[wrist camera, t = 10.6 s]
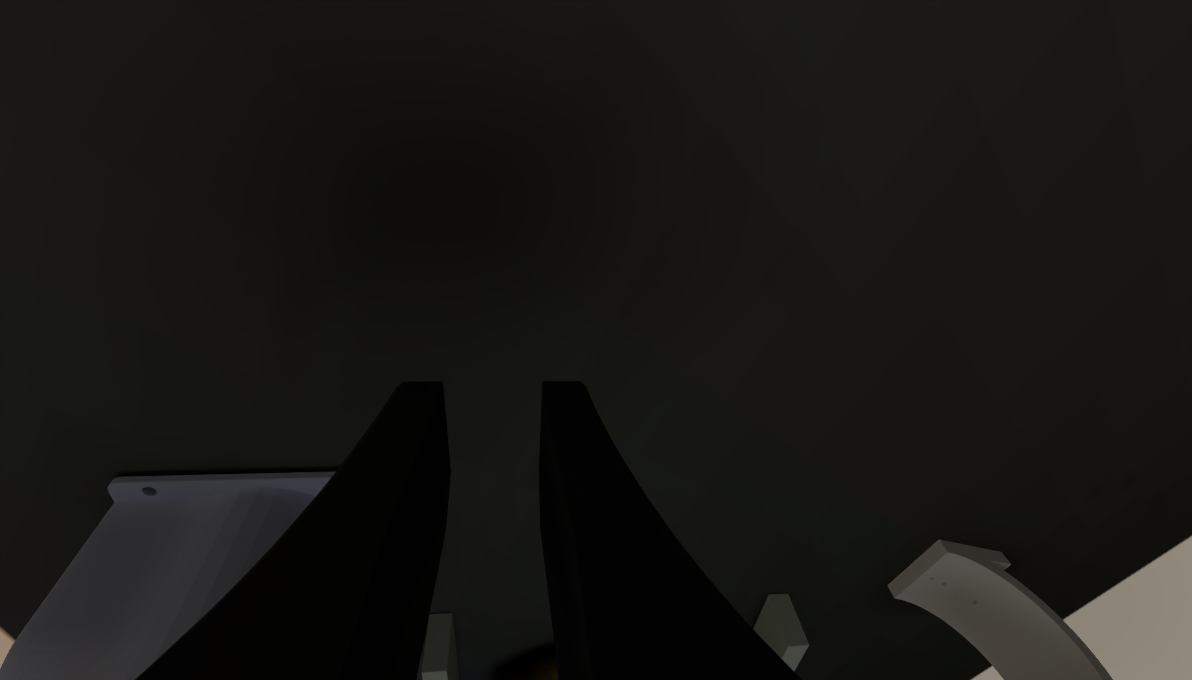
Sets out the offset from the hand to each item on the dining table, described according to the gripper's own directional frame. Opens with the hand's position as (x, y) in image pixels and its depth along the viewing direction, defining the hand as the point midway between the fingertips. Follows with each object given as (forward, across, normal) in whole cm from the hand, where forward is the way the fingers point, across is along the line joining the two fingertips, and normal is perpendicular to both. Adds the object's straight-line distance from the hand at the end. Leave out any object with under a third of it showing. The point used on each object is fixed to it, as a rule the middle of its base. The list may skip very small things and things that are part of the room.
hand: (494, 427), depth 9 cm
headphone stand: (+11, -26, +22) cm, 36 cm away
